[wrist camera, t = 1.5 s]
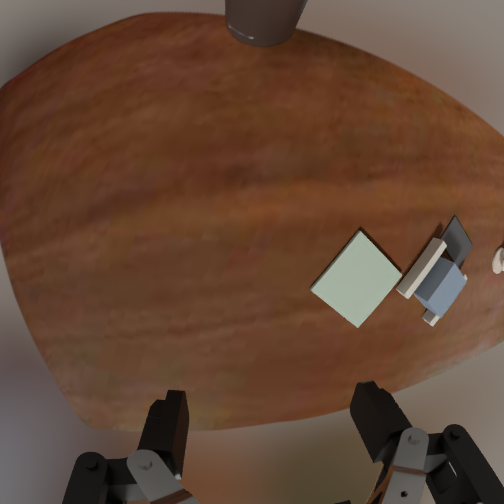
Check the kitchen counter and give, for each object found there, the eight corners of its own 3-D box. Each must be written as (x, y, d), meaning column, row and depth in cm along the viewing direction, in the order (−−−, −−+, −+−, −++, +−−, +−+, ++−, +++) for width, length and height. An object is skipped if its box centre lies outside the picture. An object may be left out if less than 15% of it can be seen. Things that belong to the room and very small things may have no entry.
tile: (358, 230, 35) (360, 231, 34) (400, 274, 37) (402, 275, 36) (309, 288, 36) (310, 290, 36) (356, 326, 38) (357, 327, 38)
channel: (450, 210, 35) (460, 212, 33) (473, 249, 37) (483, 253, 35) (395, 288, 37) (404, 294, 35) (424, 320, 39) (432, 326, 37)
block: (434, 254, 37) (454, 262, 32) (447, 272, 38) (466, 281, 33) (409, 289, 38) (427, 301, 33) (423, 305, 39) (440, 318, 34)
